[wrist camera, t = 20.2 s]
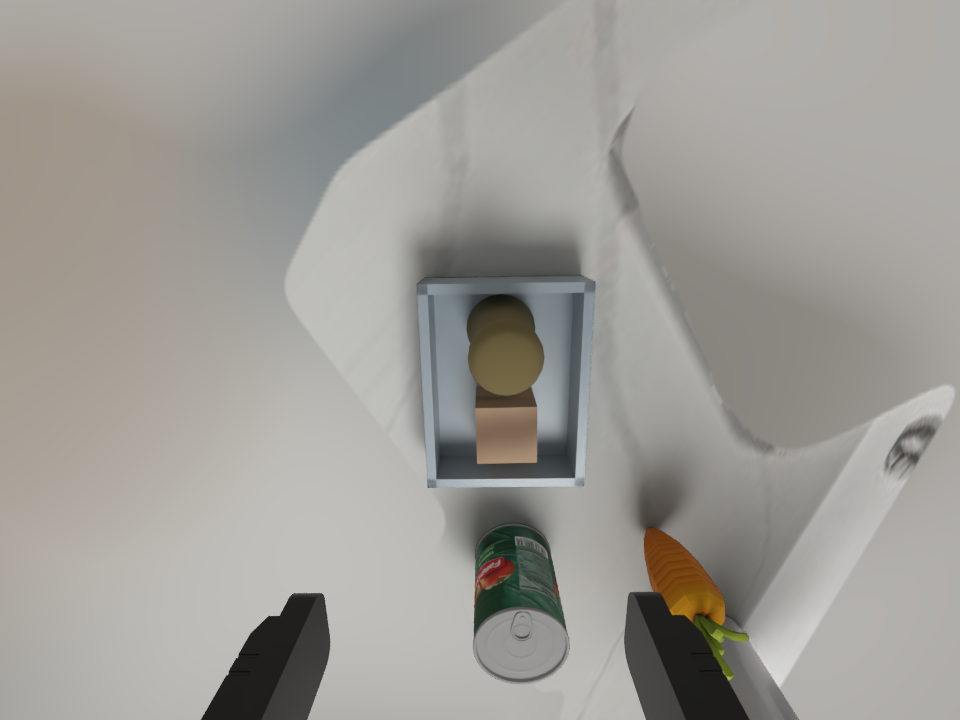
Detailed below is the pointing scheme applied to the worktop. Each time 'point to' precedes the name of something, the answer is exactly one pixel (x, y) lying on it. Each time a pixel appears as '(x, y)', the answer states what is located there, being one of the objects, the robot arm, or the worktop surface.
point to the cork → (504, 345)
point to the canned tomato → (517, 607)
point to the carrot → (688, 590)
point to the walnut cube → (506, 427)
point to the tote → (452, 387)
